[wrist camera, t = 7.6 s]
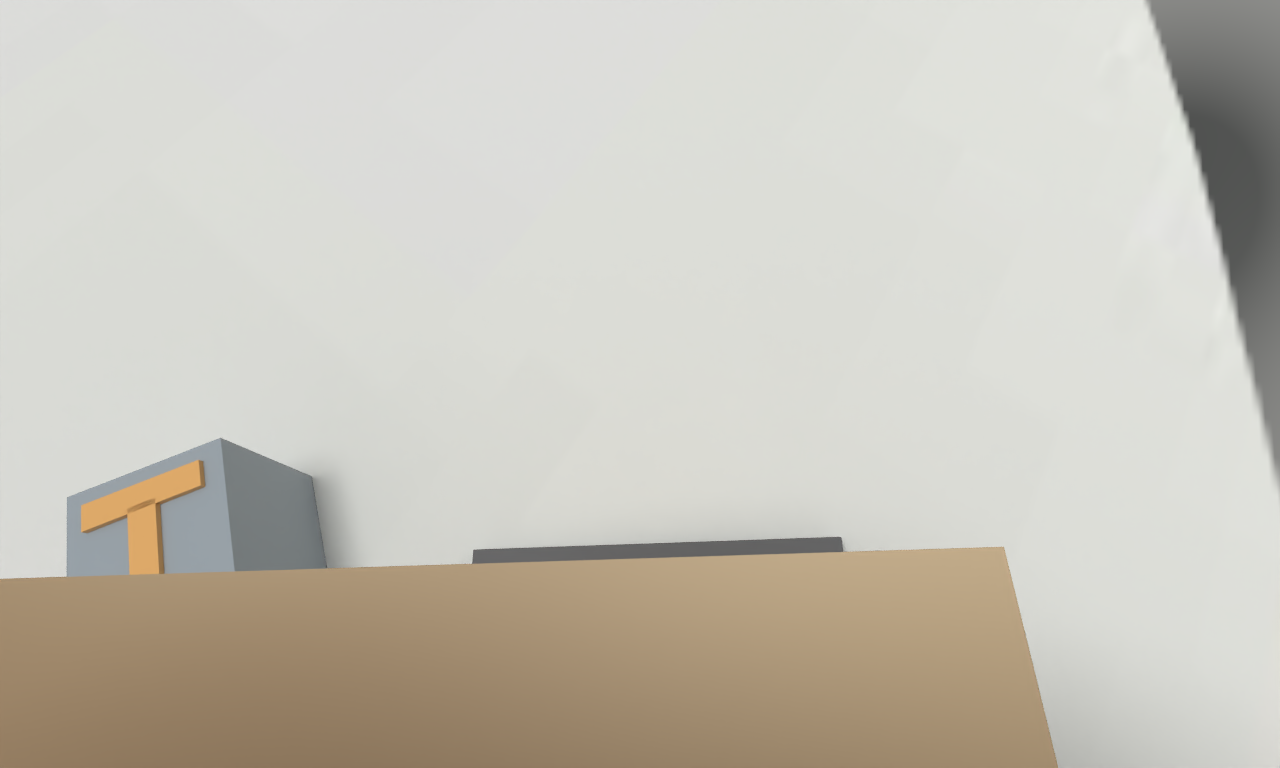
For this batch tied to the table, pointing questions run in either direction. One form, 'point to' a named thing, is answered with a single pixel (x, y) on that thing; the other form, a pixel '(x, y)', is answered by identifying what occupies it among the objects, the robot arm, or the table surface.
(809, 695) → the wooden block
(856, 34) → the table surface
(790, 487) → the table surface
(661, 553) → the charcoal mat
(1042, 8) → the table surface
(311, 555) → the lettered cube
